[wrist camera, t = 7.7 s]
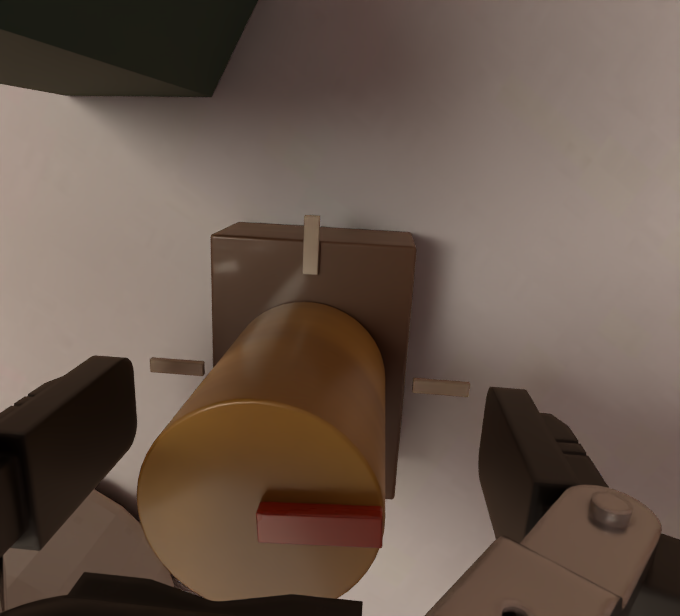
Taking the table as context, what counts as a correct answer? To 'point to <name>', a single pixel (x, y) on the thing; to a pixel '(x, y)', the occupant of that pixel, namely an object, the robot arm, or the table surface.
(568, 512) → the robot arm
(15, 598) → the mug
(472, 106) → the table surface
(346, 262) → the plate
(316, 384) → the lock knob
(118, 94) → the bottle
